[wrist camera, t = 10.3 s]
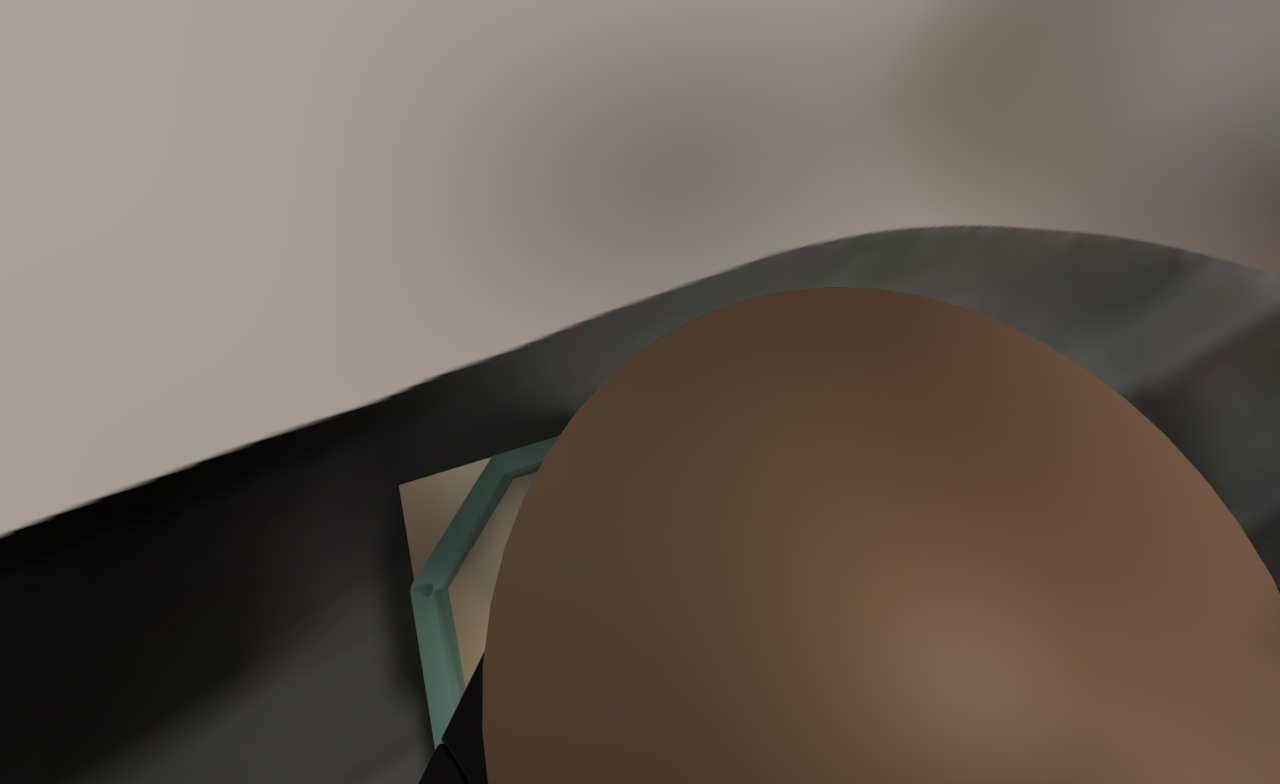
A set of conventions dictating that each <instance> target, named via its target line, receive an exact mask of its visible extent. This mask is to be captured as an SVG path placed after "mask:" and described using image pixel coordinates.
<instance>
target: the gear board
mask: <svg viewBox="0 0 1280 784" xmlns="http://www.w3.org/2000/svg"><path fill="white" fill-rule="evenodd" d="M558 437H559V436H557V437H553V438H550V439H547V440H543V441H540V442H537V443H534V444H530V445H527V446H524V447H520V448H517V449H514V450H511V451H507V452H504V453H501V454H497V455H494V456H493V457H490V458H487V459H484V460H480V461H477V462H474V463H470V464H467V465H464V466H461V467H457V468H454V469H451V470H448V471H444V472H441V473H438V474H434V475H431V476H428V477H425V478H421V479H418V480H415V481H411V482H408V483H405V484H402V485H399V489H400V496H401V502H402V508H403V514H404V520H405V527H406V533H407V539H408V545H409V551H410V558H411V564H412V570H413V576H414V582H413V584H412V585H411V588H412V589H410V593H411V600H412V606H413V612H414V619H415V625H416V631H417V638H418V644H419V650H420V657H421V663H422V669H423V676H424V682H425V688H426V695H427V701H428V708H429V714H430V720H431V727H432V733H433V739H434V746H435V750H436V748H437V746H438V745H439V744H441V743H442V740H441V739H442V736H443V734H444V732H445V730H446V728H447V726H448V724H449V722H450V720H451V718H452V716H453V714H454V712H455V710H456V708H457V706H458V704H459V702H460V700H461V698H462V696H463V694H464V691H465V689H466V687H467V685H468V683H469V681H470V679H471V677H472V675H473V673H474V671H475V669H476V667H477V665H478V663H479V661H480V659H481V657H482V655H483V653H484V651H485V644H486V636H487V628H488V620H489V612H490V605H491V600H492V596H493V592H494V588H495V584H496V580H497V576H498V572H499V568H500V564H501V560H502V556H503V552H504V548H505V546H506V543H507V540H508V538H509V535H510V532H511V530H512V527H513V524H514V522H515V519H516V517H517V514H518V511H519V509H520V506H521V503H522V501H523V498H524V496H525V494H526V493H527V491H528V489H529V487H530V485H531V483H532V481H533V479H534V477H535V476H536V474H537V472H538V470H539V468H540V466H541V464H542V462H543V460H544V458H545V457H546V455H547V453H548V452H549V450H550V449H551V447H552V446H553V444H554V443H555V442H556V440H557V439H558ZM442 744H443V743H442Z"/></svg>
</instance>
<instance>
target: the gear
mask: <svg viewBox="0 0 1280 784" xmlns="http://www.w3.org/2000/svg"><path fill="white" fill-rule="evenodd" d="M482 732H483V741H484V750H485V759H486V769H487V778H488V784H1280V593H1279V591H1278V589H1277V587H1276V585H1275V583H1274V581H1273V579H1272V577H1271V575H1270V573H1269V571H1268V570H1267V568H1266V567H1265V565H1264V563H1263V562H1262V560H1261V559H1260V557H1259V555H1258V554H1257V552H1256V551H1255V549H1254V547H1253V546H1252V544H1251V542H1250V541H1249V539H1248V538H1247V536H1246V534H1245V533H1244V531H1243V530H1242V528H1241V526H1240V525H1239V523H1238V522H1237V521H1236V519H1235V518H1234V517H1233V515H1232V514H1231V513H1230V511H1229V510H1228V509H1227V507H1226V506H1225V505H1224V503H1223V502H1222V501H1221V499H1220V498H1219V497H1218V495H1217V494H1216V493H1215V492H1214V490H1213V489H1212V488H1211V486H1210V485H1209V484H1208V482H1207V481H1206V480H1205V478H1204V477H1203V476H1202V475H1201V474H1200V473H1199V472H1198V470H1197V469H1196V468H1195V467H1194V466H1193V465H1192V464H1191V463H1190V462H1189V461H1188V459H1187V458H1186V457H1185V456H1184V455H1183V454H1182V453H1181V452H1180V451H1179V450H1178V448H1177V447H1176V446H1175V445H1174V444H1173V443H1172V442H1171V441H1170V440H1169V439H1168V437H1167V436H1166V435H1164V434H1163V433H1162V432H1161V431H1160V430H1159V429H1158V428H1157V427H1156V426H1155V425H1154V424H1152V423H1151V422H1150V421H1149V420H1148V419H1147V418H1146V417H1145V416H1144V415H1143V414H1142V413H1140V412H1139V411H1138V410H1137V409H1136V408H1135V407H1134V406H1133V405H1132V404H1131V403H1130V402H1128V401H1127V400H1126V399H1125V398H1123V397H1122V396H1121V395H1119V394H1118V393H1117V392H1115V391H1114V390H1113V389H1112V388H1110V387H1109V386H1108V385H1106V384H1105V383H1104V382H1102V381H1101V380H1100V379H1098V378H1097V377H1096V376H1094V375H1093V374H1092V373H1091V372H1089V371H1088V370H1087V369H1085V368H1083V367H1082V366H1080V365H1079V364H1077V363H1075V362H1074V361H1072V360H1070V359H1069V358H1067V357H1066V356H1064V355H1062V354H1061V353H1059V352H1058V351H1056V350H1054V349H1053V348H1051V347H1050V346H1048V345H1046V344H1045V343H1043V342H1041V341H1039V340H1037V339H1035V338H1033V337H1031V336H1029V335H1027V334H1025V333H1023V332H1021V331H1018V330H1016V329H1014V328H1012V327H1010V326H1008V325H1006V324H1004V323H1002V322H1000V321H997V320H994V319H992V318H989V317H986V316H984V315H981V314H978V313H976V312H973V311H970V310H968V309H965V308H963V307H960V306H956V305H952V304H948V303H945V302H941V301H937V300H933V299H930V298H926V297H922V296H918V295H912V294H906V293H899V292H892V291H886V290H879V289H867V288H841V287H829V288H815V289H802V290H791V291H786V292H781V293H776V294H771V295H765V296H760V297H755V298H751V299H748V300H745V301H742V302H739V303H736V304H733V305H730V306H727V307H724V308H720V309H717V310H714V311H712V312H710V313H707V314H705V315H703V316H701V317H699V318H697V319H695V320H693V321H691V322H689V323H687V324H684V325H682V326H680V327H678V328H676V329H674V330H673V331H671V332H669V333H668V334H666V335H665V336H663V337H662V338H660V339H659V340H657V341H656V342H654V343H652V344H651V345H649V346H648V347H646V348H645V349H643V350H642V351H640V352H639V353H637V354H636V355H635V356H634V357H633V358H632V359H630V360H629V361H628V362H627V363H626V364H624V365H623V366H622V367H621V368H620V369H619V370H617V371H616V372H615V373H614V374H613V375H611V376H610V377H609V378H608V379H607V380H606V381H605V382H604V383H603V384H602V385H601V386H600V387H599V388H598V389H597V390H596V391H595V393H594V394H593V395H592V396H591V397H590V398H589V399H588V400H587V401H586V402H585V404H584V405H583V406H582V407H581V408H580V409H579V410H578V411H577V412H576V413H575V415H574V416H573V417H572V419H571V420H570V422H569V423H568V424H567V426H566V427H565V429H564V430H563V432H562V433H561V434H560V436H559V437H558V439H557V440H556V442H555V443H554V444H553V446H552V447H551V449H550V450H549V452H548V453H547V455H546V457H545V458H544V460H543V462H542V464H541V466H540V468H539V470H538V472H537V474H536V476H535V477H534V479H533V481H532V483H531V485H530V487H529V489H528V491H527V493H526V494H525V496H524V498H523V501H522V503H521V506H520V509H519V511H518V514H517V517H516V519H515V522H514V524H513V527H512V530H511V532H510V535H509V538H508V540H507V543H506V546H505V548H504V552H503V556H502V560H501V564H500V568H499V572H498V576H497V580H496V584H495V588H494V592H493V596H492V600H491V605H490V612H489V620H488V628H487V636H486V644H485V653H484V661H483V717H482Z"/></svg>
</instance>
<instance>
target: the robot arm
mask: <svg viewBox="0 0 1280 784" xmlns="http://www.w3.org/2000/svg"><path fill="white" fill-rule="evenodd" d="M1276 587H1277V589H1278V591H1279V593H1280V587H1279V586H1276ZM484 653H485V651H484ZM484 653H483V655H482V657H481V659H480V661H479V663H478V665H477V667H476V669H475V671H474V673H473V675H472V677H471V679H470V681H469V683H468V685H467V687H466V689H465V691H464V694H463V696H462V698H461V700H460V702H459V704H458V706H457V708H456V710H455V712H454V714H453V716H452V718H451V720H450V722H449V724H448V726H447V728H446V730H445V732H444V734H443V736H442V739H441V740H442V743H443V744H442V743H441V744H439V745H438V746H437V748H436V750H435V752H434V754H433V756H432V758H431V760H430V762H429V764H428V766H427V768H426V770H425V772H424V774H423V776H422V778H421V780H420V782H419V784H488V778H487V769H486V759H485V750H484V741H483V732H482V717H483V661H484Z"/></svg>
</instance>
